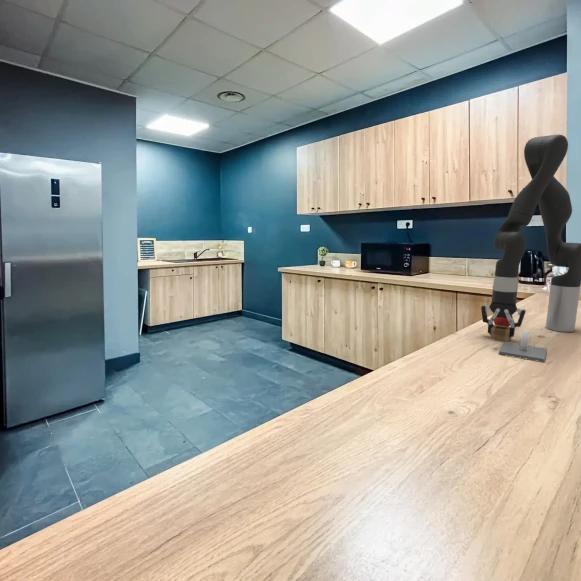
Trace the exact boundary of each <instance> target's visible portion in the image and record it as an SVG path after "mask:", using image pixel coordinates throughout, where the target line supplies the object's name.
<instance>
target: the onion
mask: <svg viewBox="0 0 581 581" xmlns="http://www.w3.org/2000/svg"><path fill="white" fill-rule="evenodd" d="M493 324H494V325H499V326H506V327H511V326H510V324H509V322H508V319H506V318H502V317H501V318H498V317H496V318H495V320H494V321H493Z"/></svg>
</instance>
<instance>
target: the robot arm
mask: <svg viewBox="0 0 581 581" xmlns="http://www.w3.org/2000/svg"><path fill="white" fill-rule="evenodd" d="M568 150H569V142H568V139H567V137H566V136H565V135H563V134H550V135H542V136H536V137H532V138H530V139H528V140H527V142H526V143H525V146H524V150H523V156H524V157H523V158H524V161H525V164H526V167H527V170H528V172H529V175H530V178H531V180H530V181H529V182H528V184H527V185H525V186H524V187H523V188H522V190H520V192H518V194H517V195H516V197H515V198H514V200H513V203H512V205H511V207H510V210H509V212H508V215H507V217H506V219H504V221H503V222H502V224H501V226H500V227H499V228H498V230H497V232H496V233H495V234H494V239H493V246H494V248H495V249H496V250H497V251H498V252H503V257H502V258H501V259H498V260H497V261H496V263H495V271H494V279H493V283H492V291H491V292H492V293H491V302H490V305H489V304H488V305H486V304H482V305H481V307H480V309H481V317H482V319H481V320H482V322H483V323H486V324H487V334H489V336H491V328H492V327H493V325H494V320H495V318H496V317H498V318H501V317H502V318H506V319H508V322H509V324H510V326H509V327H510V334H509V338H510V339H511V338H513V337H514V336H515V330H516V328H521V326H522V323H523V320H524V319H525V315H526V312H527V311H526V309H523V308H522V309H521V308H518V307H517V296H518V289H519V286H518V285H519V269H520V264H521V262H522V259H523V257H524V254H525V252H526V249H527V239H526V236H525V234H524V233H522V232H521V231H520V230H521V229H523V228H524V227H527V226H529V224H530V223H531V221H532V218H533V216H534V214H535V211H536V210H537V209H536V208H537V207H538V208H539V212H540V215H541V219H542V223H543V228H544V232H545V242H546V249H547V255H548V260H549V262H550V265H552V266H555V267H559V268H560V267H561V268H568V269H567V271H566V273H563V274H560V275H554V276H552V277H551V280H550V286H549V295H548V303H547V314H546V320H545V321H546V322H545V328H546V329H548V330H550V331H555V332H561V333H562V332H564V333H572V332H575V329H576V322H577V314H578V308H579V300H580V292H581V242H564V241H563V240H562V239H563V238H562V231H563V230H564V228H565V226H566V224H567V223H568V222H569V220H570V219H571V217H572V213H573V205H572V201H571V197H570V193H569V192H568V190H567V189H566V187H565V186H563V184H562V183H561V182H560V181H559V180H558V179H557V178H556V177H555V175H556V172H557V171H558V170H559V168H560V166H561V164H563V161H564V159H565V157H566V156H567V153H568ZM489 309H490V311H491V313H492V315H491V317H490V319H489V318H488V311H489ZM516 312H517V315H518V321H517V322H515V320H514V316H513V315H515V313H516Z"/></svg>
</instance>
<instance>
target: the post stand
mask: <svg viewBox="0 0 581 581" xmlns="http://www.w3.org/2000/svg"><path fill="white" fill-rule="evenodd" d="M529 333H530V332H529V331H528V330H521V332H520V342H519V343H513V342H510V341H508V342H506V341H503V342H502V345H501V346H500V349H499V350H498V355H499V354H502V355H501V356H505V355H507V356H506V357H511V356H514V357H513V358H516V357H521V358H520V359H522V358H527V359H526V360H528V359H532V360H531V361H534V360H538V361H537V362H539V361H542V362H541V363H545V361H546V355H547V347H540V346H535V345H528V343H529Z"/></svg>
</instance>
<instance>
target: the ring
mask: <svg viewBox="0 0 581 581" xmlns="http://www.w3.org/2000/svg"><path fill="white" fill-rule="evenodd" d="M510 327H511V326H509V327H506V326H499V325H495V324H493V327H492V328H491V335H489V336H490V338H489V339H490V340H493V339H494V340H495V341H499V340H500V341H499V342H510V340H511V338H509V334H510Z"/></svg>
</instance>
